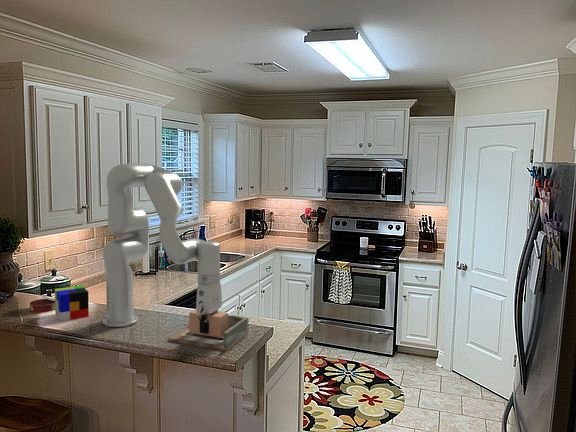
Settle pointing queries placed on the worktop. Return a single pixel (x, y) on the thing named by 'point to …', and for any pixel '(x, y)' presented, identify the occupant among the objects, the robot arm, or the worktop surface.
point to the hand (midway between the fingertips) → (208, 329)
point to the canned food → (42, 305)
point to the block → (216, 323)
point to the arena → (229, 338)
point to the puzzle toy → (71, 303)
